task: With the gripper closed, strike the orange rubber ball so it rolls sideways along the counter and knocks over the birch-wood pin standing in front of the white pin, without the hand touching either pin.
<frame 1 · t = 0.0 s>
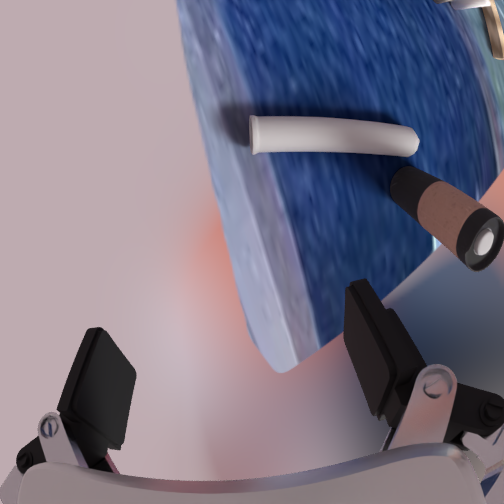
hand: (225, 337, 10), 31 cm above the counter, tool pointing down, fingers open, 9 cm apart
travel mug: (406, 185, 41), on the counter
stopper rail: (487, 20, 21), on the counter
white pin: (454, 5, 22), on the counter
tube: (336, 132, 36), on the counter
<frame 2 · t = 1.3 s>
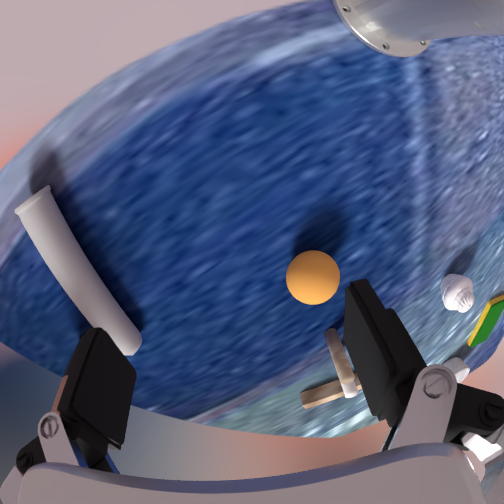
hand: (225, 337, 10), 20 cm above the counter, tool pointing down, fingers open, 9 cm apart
dish sponge: (484, 318, 47), on the counter
travel mug: (99, 347, 39), on the counter
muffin: (446, 280, 38), on the counter
ramekin: (444, 367, 55), on the counter
ball: (313, 277, 30), on the counter
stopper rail: (344, 379, 48), on the counter
birch pin: (330, 332, 40), on the counter
white pin: (335, 350, 42), on the counter
tube: (90, 271, 32), on the counter
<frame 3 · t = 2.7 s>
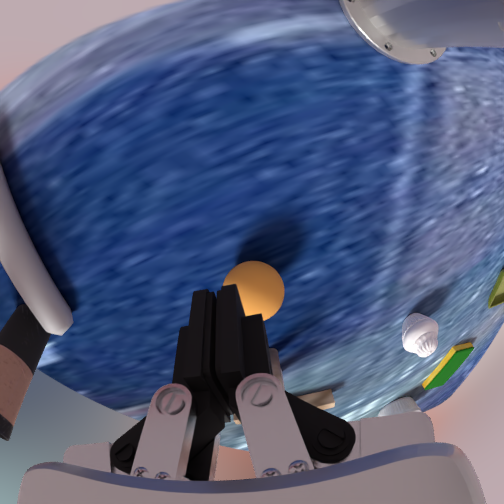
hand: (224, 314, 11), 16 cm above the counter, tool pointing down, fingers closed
dish sponge: (445, 362, 48), on the counter
travel mug: (34, 320, 32), on the counter
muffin: (410, 319, 37), on the counter
ramekin: (394, 405, 55), on the counter
olive square dish: (501, 280, 36), on the counter
ball: (253, 291, 27), on the counter
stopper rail: (282, 401, 45), on the counter
birch pin: (270, 352, 37), on the counter
tube: (27, 240, 26), on the counter
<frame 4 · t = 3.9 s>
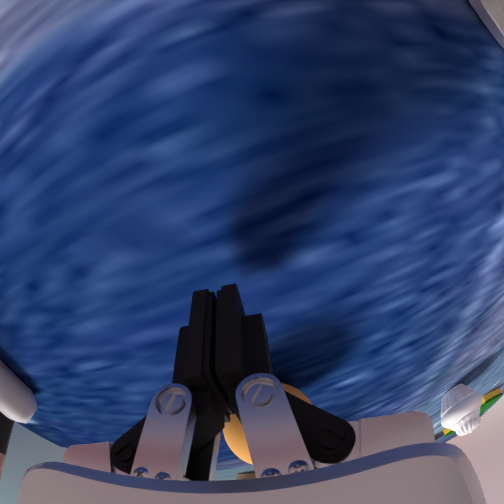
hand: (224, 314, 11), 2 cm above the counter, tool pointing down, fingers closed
dish sponge: (470, 408, 36), on the counter
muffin: (451, 389, 25), on the counter
ball: (270, 425, 15), on the counter
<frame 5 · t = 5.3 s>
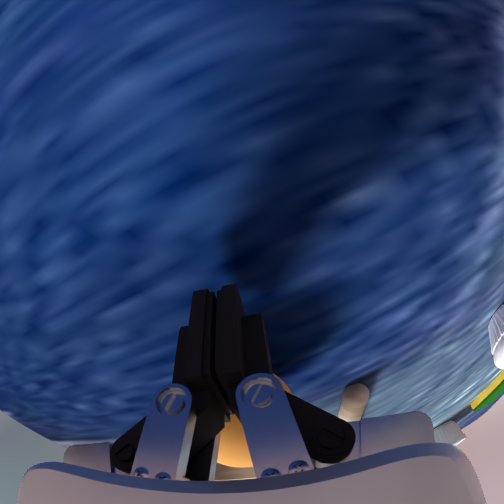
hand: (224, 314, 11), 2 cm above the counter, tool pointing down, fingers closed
dish sponge: (501, 373, 28), on the counter
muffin: (498, 313, 17), on the counter
ramekin: (432, 432, 35), on the counter
ball: (241, 416, 13), on the counter
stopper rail: (283, 452, 25), on the counter
birch pin: (356, 394, 17), point 1 cm above the counter, tilted 90°
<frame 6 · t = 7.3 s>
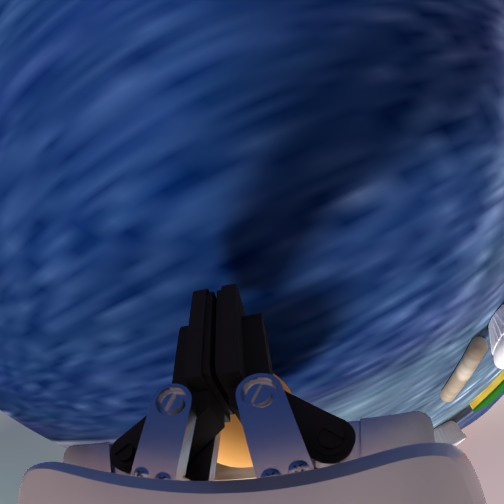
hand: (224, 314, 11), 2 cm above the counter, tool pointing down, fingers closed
dish sponge: (501, 373, 28), on the counter
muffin: (498, 313, 17), on the counter
ramekin: (432, 432, 35), on the counter
ball: (241, 416, 13), on the counter
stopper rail: (283, 452, 25), on the counter
birch pin: (479, 344, 17), point 1 cm above the counter, tilted 90°
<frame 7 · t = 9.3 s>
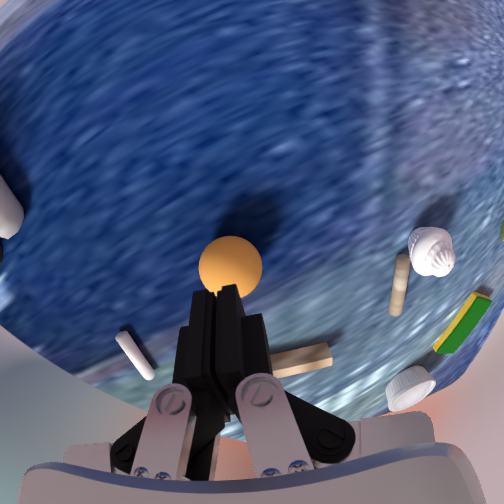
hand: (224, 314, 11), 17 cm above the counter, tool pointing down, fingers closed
dish sponge: (459, 319, 42), on the counter
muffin: (416, 237, 31), on the counter
ramekin: (404, 377, 48), on the counter
ball: (230, 267, 27), on the counter
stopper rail: (266, 359, 38), on the counter
birch pin: (403, 258, 31), point 1 cm above the counter, tilted 90°
white pin: (121, 335, 33), point 1 cm above the counter, tilted 90°
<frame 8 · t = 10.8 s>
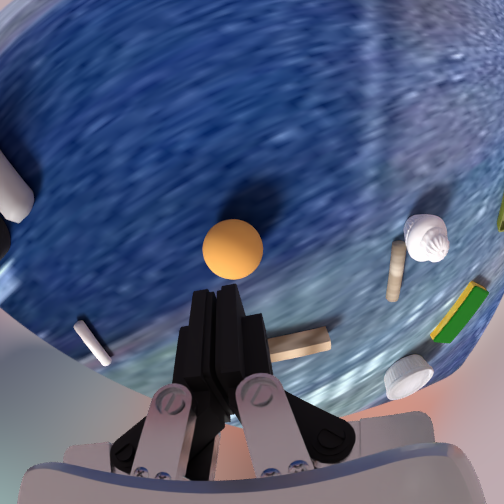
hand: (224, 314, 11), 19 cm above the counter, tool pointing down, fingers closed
dish sponge: (456, 309, 43), on the counter
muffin: (412, 225, 32), on the counter
ramekin: (402, 366, 50), on the counter
ball: (232, 249, 28), on the counter
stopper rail: (266, 343, 40), on the counter
birch pin: (399, 244, 32), point 1 cm above the counter, tilted 90°
white pin: (78, 324, 35), point 1 cm above the counter, tilted 90°
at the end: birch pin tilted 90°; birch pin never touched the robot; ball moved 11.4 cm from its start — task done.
